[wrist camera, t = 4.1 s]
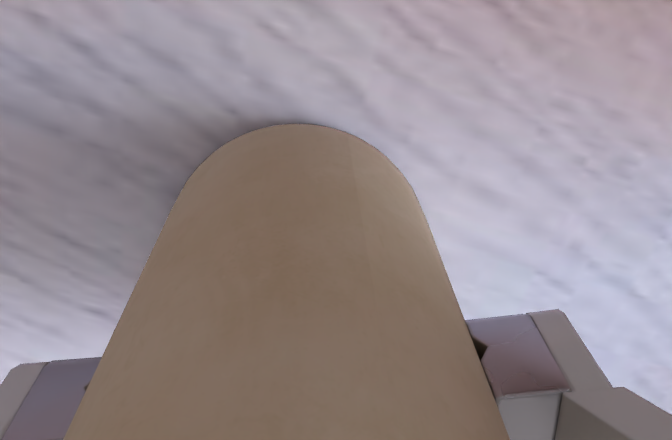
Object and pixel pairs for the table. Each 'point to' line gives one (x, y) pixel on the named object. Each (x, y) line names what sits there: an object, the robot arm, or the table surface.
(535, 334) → the robot arm
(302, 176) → the candle
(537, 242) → the table surface
